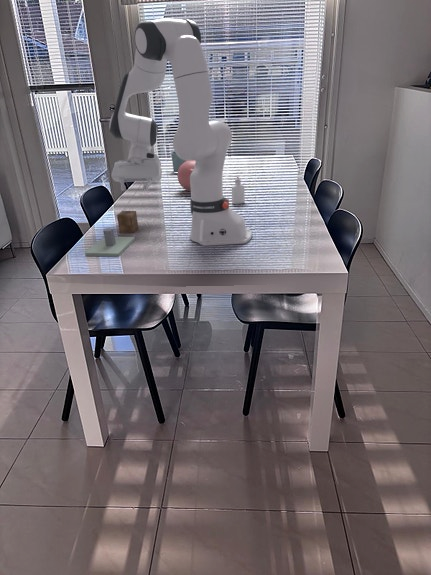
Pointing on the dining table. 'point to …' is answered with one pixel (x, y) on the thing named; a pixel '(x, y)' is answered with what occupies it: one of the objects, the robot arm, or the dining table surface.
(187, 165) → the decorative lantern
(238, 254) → the dining table surface
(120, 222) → the walnut cap
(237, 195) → the eye dropper bottle
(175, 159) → the drinking glass
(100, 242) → the post board
